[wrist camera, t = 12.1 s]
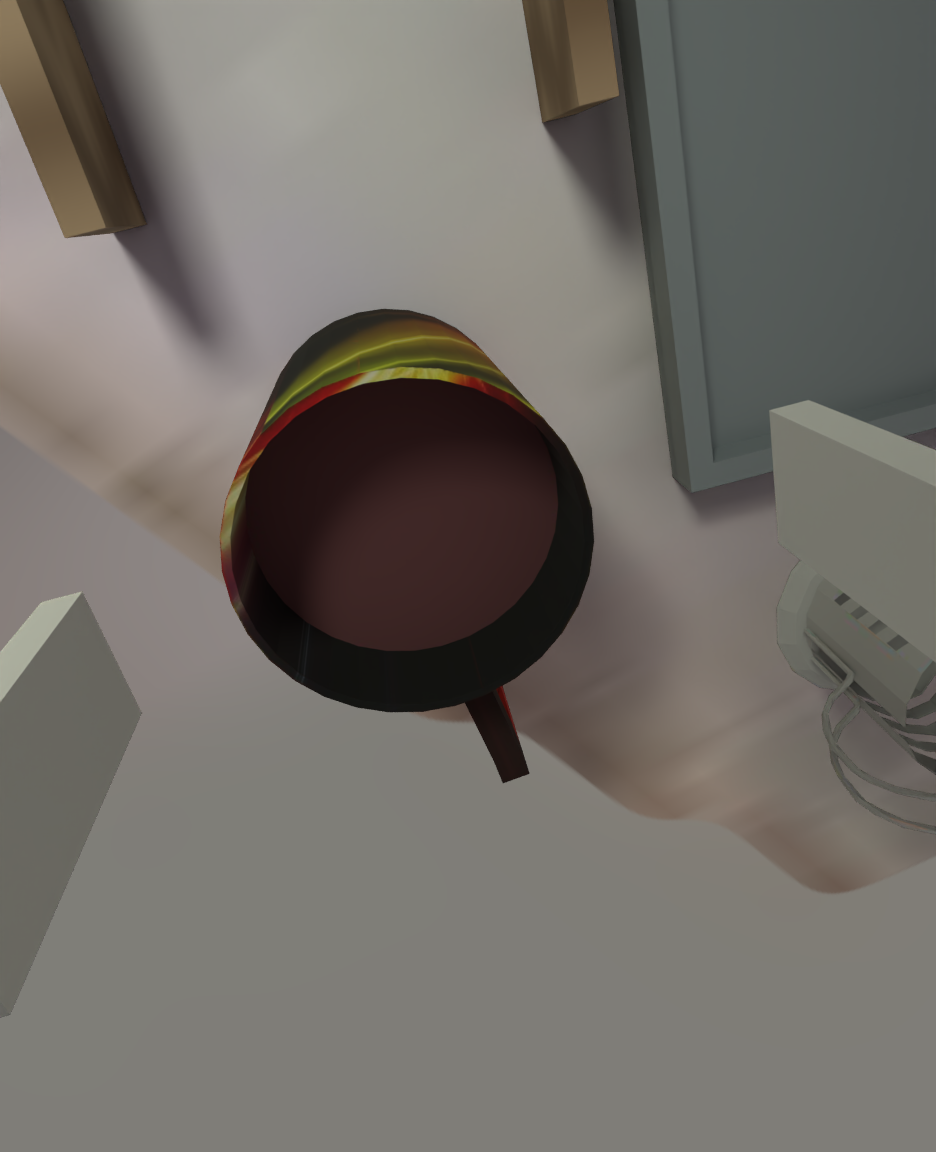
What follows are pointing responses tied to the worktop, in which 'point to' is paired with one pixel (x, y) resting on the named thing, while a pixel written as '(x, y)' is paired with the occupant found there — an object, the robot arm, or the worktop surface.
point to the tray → (784, 215)
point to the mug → (406, 525)
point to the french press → (856, 672)
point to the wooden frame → (90, 153)
